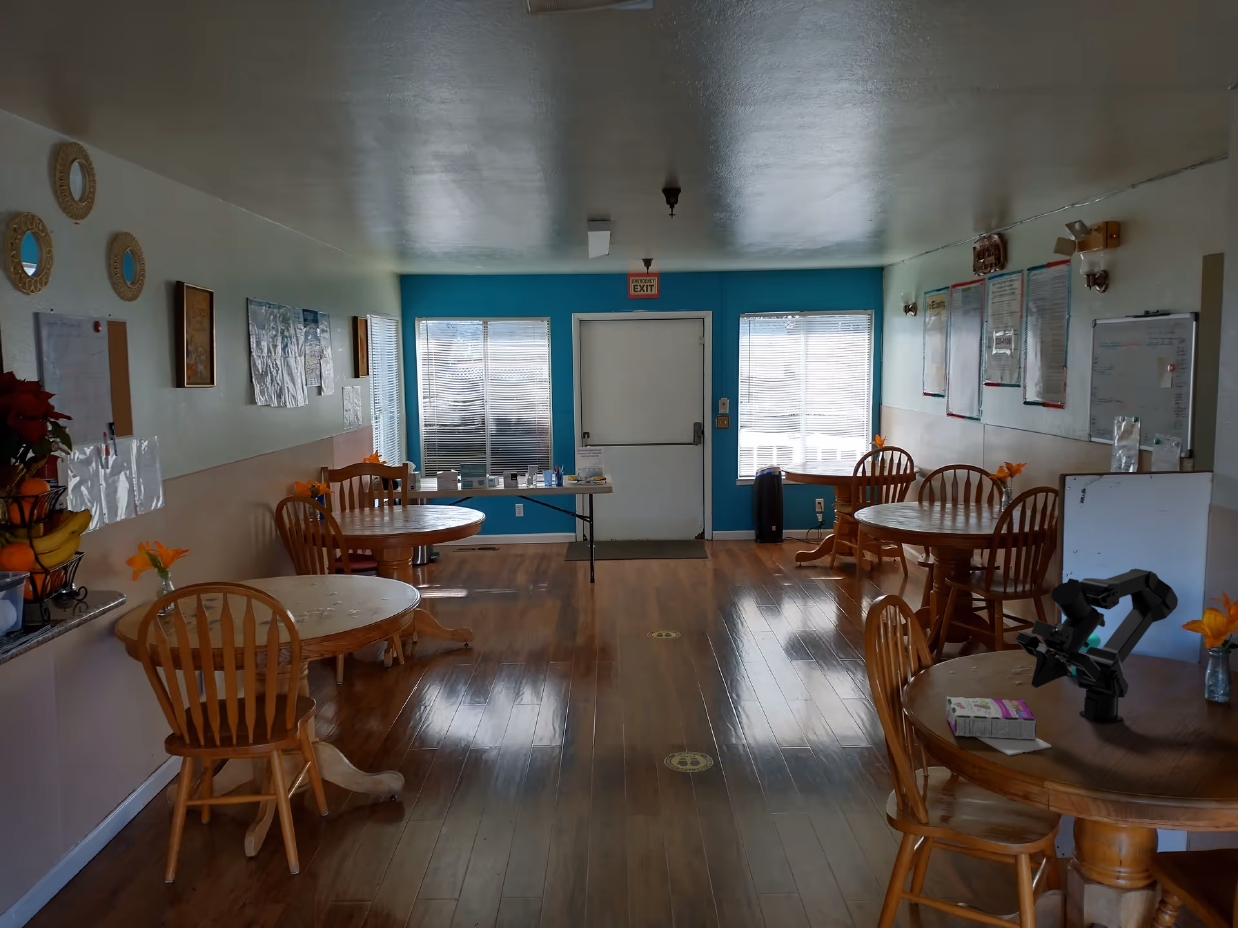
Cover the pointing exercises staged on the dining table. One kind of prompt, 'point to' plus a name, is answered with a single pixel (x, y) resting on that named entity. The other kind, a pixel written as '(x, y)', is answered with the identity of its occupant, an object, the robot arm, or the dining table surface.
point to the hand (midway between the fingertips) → (1033, 686)
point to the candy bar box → (990, 718)
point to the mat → (1015, 745)
